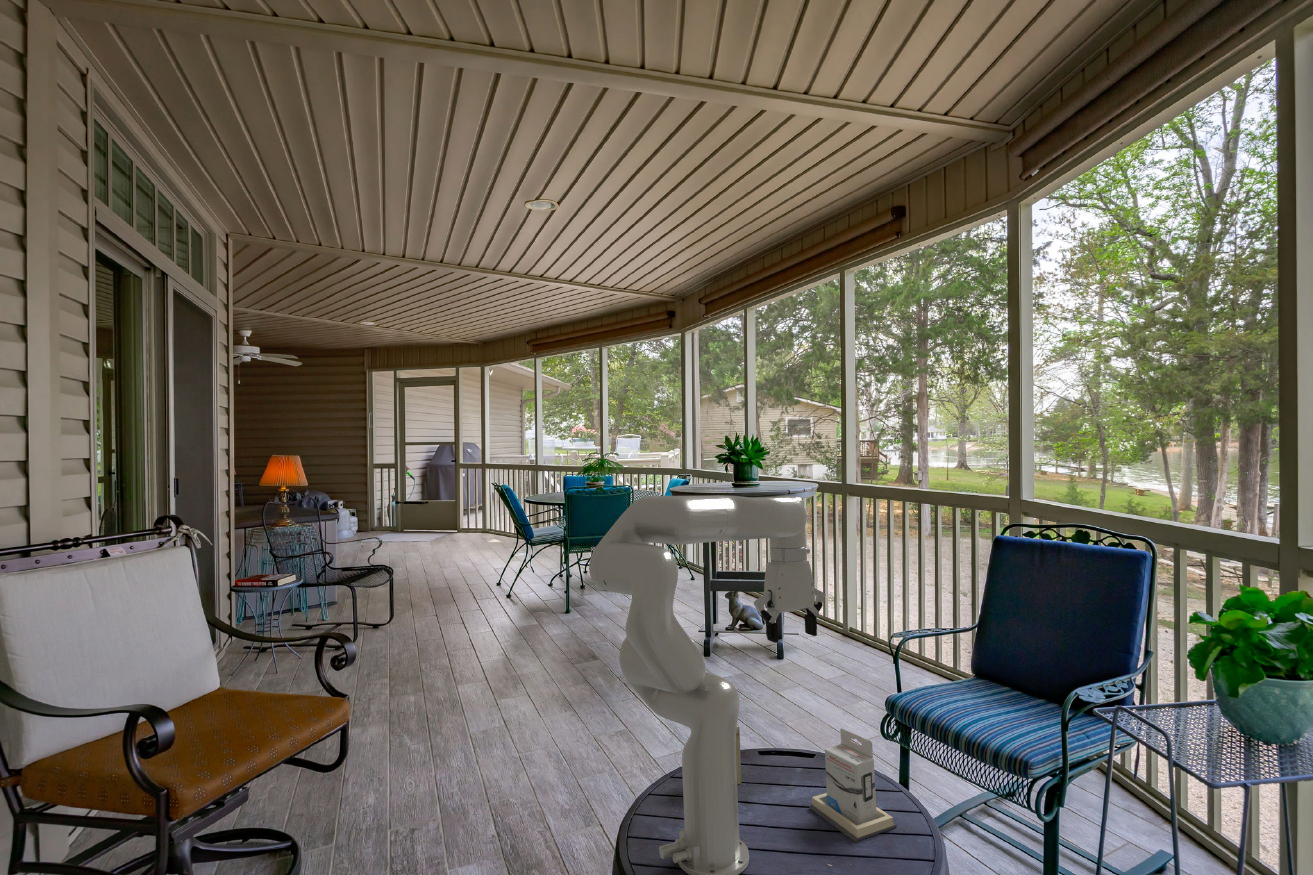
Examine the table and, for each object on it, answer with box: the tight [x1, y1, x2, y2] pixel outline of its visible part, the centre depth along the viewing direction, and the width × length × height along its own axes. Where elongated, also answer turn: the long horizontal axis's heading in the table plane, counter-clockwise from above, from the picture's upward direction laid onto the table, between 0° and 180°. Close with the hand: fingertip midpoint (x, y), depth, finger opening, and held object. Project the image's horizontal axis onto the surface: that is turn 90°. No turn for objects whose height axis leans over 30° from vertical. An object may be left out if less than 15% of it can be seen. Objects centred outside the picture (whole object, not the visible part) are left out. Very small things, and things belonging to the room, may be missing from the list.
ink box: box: [824, 728, 877, 825], centre depth 124 cm, size 8×5×15 cm, turn 31°
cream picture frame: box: [808, 792, 897, 843], centre depth 123 cm, size 10×13×2 cm
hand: (792, 637), depth 133 cm, fingers open, 9 cm apart
